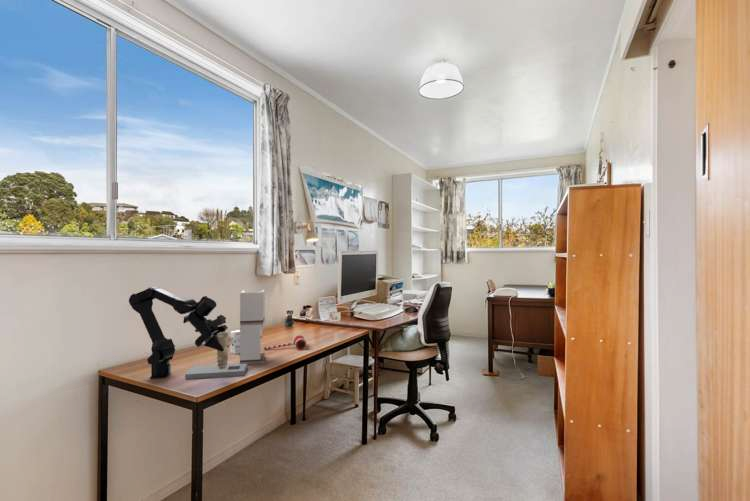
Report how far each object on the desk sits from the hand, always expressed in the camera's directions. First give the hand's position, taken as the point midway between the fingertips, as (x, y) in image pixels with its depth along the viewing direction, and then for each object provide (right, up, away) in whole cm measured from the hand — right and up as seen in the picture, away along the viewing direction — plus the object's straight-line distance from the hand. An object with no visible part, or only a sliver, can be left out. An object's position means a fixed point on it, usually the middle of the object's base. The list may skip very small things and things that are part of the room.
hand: (225, 349), depth 158 cm
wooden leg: (-1, -8, 0) cm, 8 cm away
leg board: (-7, -13, +9) cm, 18 cm away
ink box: (-10, -13, +44) cm, 47 cm away
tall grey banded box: (+2, -13, +28) cm, 31 cm away
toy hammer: (+15, -14, +52) cm, 56 cm away
